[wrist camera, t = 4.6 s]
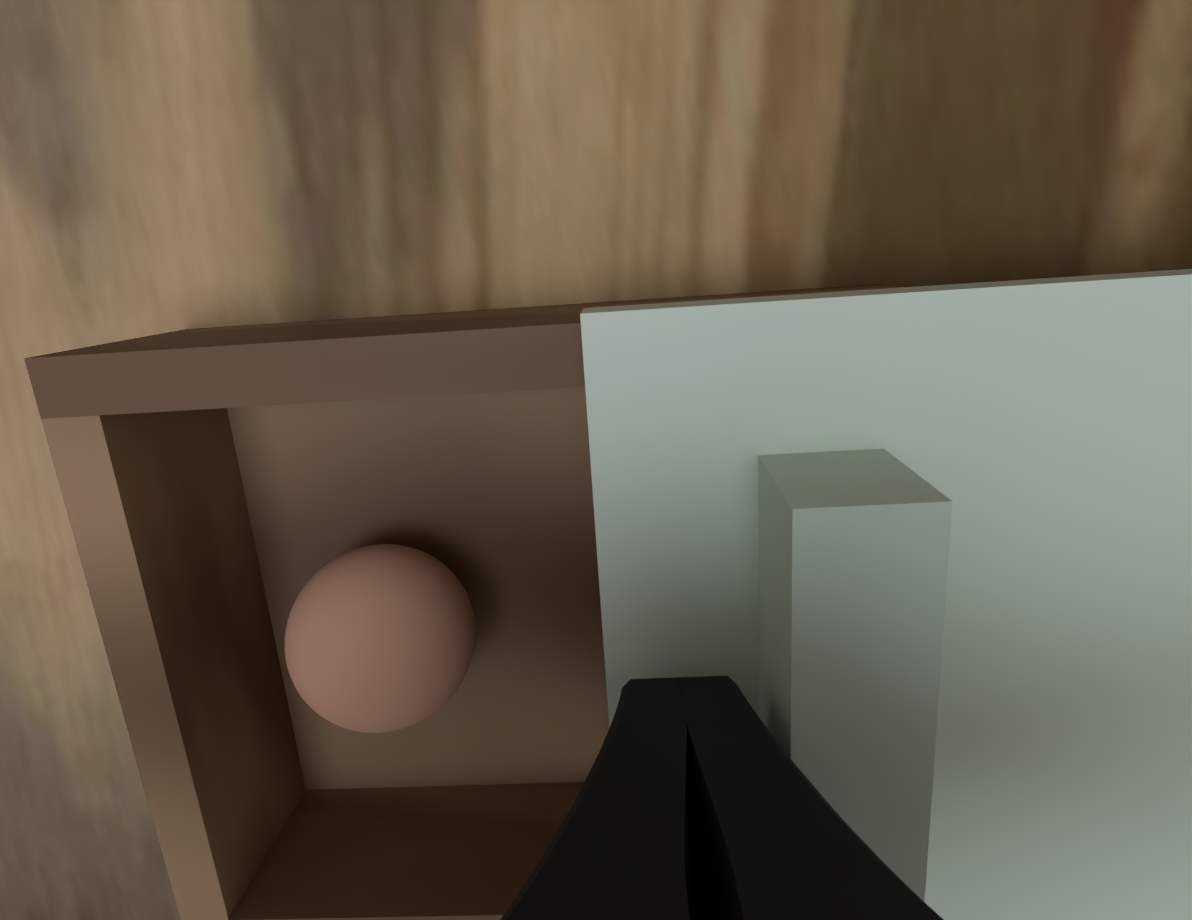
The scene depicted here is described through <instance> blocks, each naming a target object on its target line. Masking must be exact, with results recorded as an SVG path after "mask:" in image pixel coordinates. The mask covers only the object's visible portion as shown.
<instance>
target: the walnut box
mask: <svg viewBox="0 0 1192 920" xmlns="http://www.w3.org/2000/svg"><path fill="white" fill-rule="evenodd" d="M887 288H902V287H895V286H887V285H880V284H877V285H862V286H846V287H831V288H815V289H800V290H785V291H769V292H754V293H739V294H723V295H708V296H692V297H677V298H662V299H646V300H631V301H615V302H600V303H585V304H569V305H554V306H539V307H523V308H508V309H492V310H477V311H462V312H446V313H431V314H416V315H400V316H385V317H369V318H354V319H339V320H323V321H308V322H293V323H277V324H262V325H246V326H231V327H216V328H200V329H185V330H180V331H174V332H168V333H163V334H157V335H152V336H146V337H141V338H135V339H130V340H124V341H118V342H113V343H107V344H102V345H96V346H91V347H85V348H80V349H74V350H68V351H63V352H57V353H52V354H46V355H41V356H35V357H29V358H24V359H25V362H26V366H27V370H28V373H29V377H30V380H31V384H32V388H33V391H34V395H35V398H36V402H37V405H38V409H39V413H40V416H41V420H42V423H43V427H44V431H45V434H46V438H47V441H48V445H49V449H50V452H51V456H52V459H53V463H54V467H55V470H56V474H57V477H58V481H59V484H60V488H61V492H62V495H63V499H64V502H65V506H66V510H67V513H68V517H69V520H70V524H71V528H72V531H73V535H74V538H75V542H76V546H77V549H78V553H79V556H80V560H81V563H82V567H83V571H84V574H85V578H86V581H87V585H88V589H89V592H90V596H91V599H92V603H93V607H94V610H95V614H96V617H97V621H98V625H99V628H100V632H101V635H102V639H103V642H104V646H105V650H106V653H107V657H108V660H109V664H110V668H111V671H112V675H113V678H114V682H115V686H116V689H117V693H118V696H119V700H120V703H121V707H122V711H123V714H124V718H125V721H126V725H127V729H128V732H129V736H130V739H131V743H132V747H133V750H134V754H135V757H136V761H137V765H138V768H139V772H140V775H141V779H142V782H143V786H144V790H145V793H146V797H147V800H148V804H149V808H150V811H151V815H152V818H153V822H154V826H155V829H156V833H157V836H158V840H159V844H160V847H161V851H162V854H163V858H164V861H165V865H166V869H167V872H168V876H169V879H170V883H171V887H172V890H173V894H174V897H175V901H176V905H177V908H178V912H179V915H180V919H181V920H501V918H502V917H503V915H504V914H505V913H506V911H507V910H508V908H509V907H510V905H511V904H512V903H513V901H514V900H515V898H516V897H517V895H518V894H519V892H520V891H521V889H522V888H523V886H524V885H525V883H526V882H527V880H528V879H529V877H530V876H531V874H532V872H533V871H534V869H535V868H536V866H537V865H538V863H539V862H540V860H541V858H542V857H543V855H544V853H545V851H546V850H547V848H548V846H549V845H550V843H551V841H552V840H553V838H554V836H555V834H556V833H557V831H558V829H559V828H560V826H561V824H562V822H563V821H564V819H565V817H566V816H567V814H568V812H569V811H570V809H571V807H572V805H573V803H574V802H575V800H576V798H577V796H578V794H579V792H580V790H581V788H582V786H583V784H584V782H585V780H586V778H587V776H588V774H589V772H590V770H591V768H592V766H593V764H594V762H595V760H596V758H597V756H598V754H599V751H600V749H601V747H602V745H603V742H604V740H605V737H606V735H607V733H608V730H609V715H608V701H607V687H606V673H605V659H604V645H603V630H602V616H601V602H600V588H599V574H598V560H597V546H596V532H595V518H594V504H593V490H592V476H591V462H590V447H589V433H588V419H587V405H586V391H585V377H584V363H583V349H582V335H581V321H580V313H581V312H582V310H583V309H584V308H593V307H609V306H624V305H639V304H655V303H670V302H686V301H701V300H717V299H732V298H748V297H763V296H779V295H794V294H810V293H825V292H840V291H856V290H871V289H887ZM378 544H395V545H402V546H407V547H411V548H415V549H418V550H420V551H423V552H425V553H427V554H429V555H431V556H433V557H434V558H436V559H437V560H439V561H440V562H442V563H443V564H444V565H445V566H446V567H447V568H449V569H450V570H451V571H452V573H453V574H454V575H455V576H456V577H457V578H458V580H459V581H460V583H461V584H462V586H463V587H464V589H465V591H466V593H467V595H468V597H469V600H470V603H471V606H472V609H473V613H474V618H475V630H476V637H475V647H474V651H473V655H472V659H471V663H470V666H469V668H468V671H467V673H466V675H465V677H464V679H463V681H462V682H461V684H460V686H459V687H458V689H457V690H456V691H455V692H454V694H453V695H452V696H451V697H450V698H449V700H448V701H447V702H446V703H445V704H444V705H443V706H441V707H440V708H439V709H438V710H437V711H435V712H434V713H433V714H431V715H430V716H428V717H427V718H425V719H424V720H422V721H420V722H418V723H415V724H413V725H411V726H408V727H406V728H403V729H399V730H395V731H389V732H380V733H365V732H358V731H353V730H349V729H346V728H343V727H340V726H338V725H336V724H334V723H332V722H330V721H328V720H326V719H325V718H323V717H321V716H320V715H319V714H317V713H316V712H315V711H314V710H313V709H312V708H311V707H310V706H309V705H308V704H307V703H306V702H305V701H304V700H303V698H302V697H301V696H300V695H299V693H298V691H297V689H296V688H295V686H294V684H293V681H292V679H291V677H290V674H289V671H288V668H287V664H286V657H285V632H286V626H287V621H288V618H289V615H290V611H291V609H292V607H293V605H294V602H295V600H296V598H297V597H298V595H299V593H300V592H301V590H302V589H303V587H304V586H305V585H306V583H307V582H308V581H309V579H310V578H311V577H312V576H313V575H314V574H315V573H316V572H317V571H318V570H320V569H321V568H322V567H323V566H325V565H326V564H327V563H329V562H330V561H331V560H333V559H335V558H337V557H339V556H340V555H342V554H344V553H346V552H349V551H352V550H354V549H357V548H361V547H365V546H370V545H378Z"/></svg>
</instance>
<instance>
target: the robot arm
mask: <svg viewBox="0 0 1192 920" xmlns="http://www.w3.org/2000/svg"><path fill="white" fill-rule="evenodd" d="M501 920H944V919H942V918H941V917H940V916H939V915H938V914H937V913H936V912H935V911H934V910H933V909H931V908H930V907H929V906H928V905H927V904H926V903H925V902H924V901H923V900H922V899H921V898H920V897H919V896H918V895H917V894H916V893H914V892H913V891H912V890H911V889H910V888H909V887H908V886H907V885H906V884H905V883H904V882H903V881H902V880H901V879H900V878H899V877H898V876H897V875H896V874H895V873H894V872H893V871H892V870H891V869H890V868H889V867H888V866H887V865H886V864H885V863H884V862H883V861H882V860H881V859H880V858H879V857H878V856H877V855H876V854H875V853H874V852H873V851H872V850H871V848H870V847H869V846H868V845H867V844H866V843H865V842H864V841H863V840H862V839H861V838H860V837H859V836H858V835H857V834H856V833H855V832H854V831H853V830H852V829H851V828H850V827H849V825H848V824H847V823H846V822H845V821H844V820H843V819H842V818H841V817H840V815H839V814H838V813H837V812H836V811H835V810H834V809H833V808H832V807H831V806H830V804H829V803H828V802H827V801H826V800H825V799H824V798H823V796H822V795H821V794H820V793H819V792H818V790H817V789H816V788H815V787H814V786H813V785H812V783H811V782H810V781H809V780H808V779H807V777H806V776H805V775H804V774H803V773H802V772H801V770H800V769H799V768H798V767H797V766H796V764H795V763H794V762H793V761H792V760H791V758H790V757H789V756H788V755H787V753H786V752H785V751H784V750H783V748H782V747H781V746H780V745H779V743H778V742H777V741H776V739H775V738H774V737H773V735H772V734H771V733H770V731H769V730H768V729H767V727H766V726H765V725H764V723H763V722H762V721H761V719H760V718H759V717H758V715H757V714H756V712H755V711H754V709H753V708H752V707H751V705H750V704H749V702H748V701H747V699H746V698H745V696H744V695H743V693H742V692H741V690H740V689H739V687H738V685H737V684H736V683H735V682H734V681H733V680H732V679H731V678H730V677H729V676H703V677H676V678H649V679H630V680H629V681H628V682H627V683H626V684H625V685H624V686H623V687H622V689H621V694H620V699H619V702H618V706H617V709H616V712H615V715H614V718H613V720H612V723H611V725H610V728H609V730H608V733H607V735H606V737H605V740H604V742H603V745H602V747H601V749H600V751H599V754H598V756H597V758H596V760H595V762H594V764H593V766H592V768H591V770H590V772H589V774H588V776H587V778H586V780H585V782H584V784H583V786H582V788H581V790H580V792H579V794H578V796H577V798H576V800H575V802H574V803H573V805H572V807H571V809H570V811H569V812H568V814H567V816H566V817H565V819H564V821H563V822H562V824H561V826H560V828H559V829H558V831H557V833H556V834H555V836H554V838H553V840H552V841H551V843H550V845H549V846H548V848H547V850H546V851H545V853H544V855H543V857H542V858H541V860H540V862H539V863H538V865H537V866H536V868H535V869H534V871H533V872H532V874H531V876H530V877H529V879H528V880H527V882H526V883H525V885H524V886H523V888H522V889H521V891H520V892H519V894H518V895H517V897H516V898H515V900H514V901H513V903H512V904H511V905H510V907H509V908H508V910H507V911H506V913H505V914H504V915H503V917H502V918H501Z"/></svg>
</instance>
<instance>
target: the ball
mask: <svg viewBox="0 0 1192 920" xmlns="http://www.w3.org/2000/svg"><path fill="white" fill-rule="evenodd" d="M475 637H476V630H475V618H474V613H473V609H472V606H471V603H470V600H469V597H468V595H467V593H466V591H465V589H464V587H463V586H462V584H461V583H460V581H459V580H458V578H457V577H456V576H455V575H454V574H453V573H452V571H451V570H450V569H449V568H447V567H446V566H445V565H444V564H443V563H442V562H440V561H439V560H437V559H436V558H434V557H433V556H431V555H429V554H427V553H425V552H423V551H420V550H418V549H415V548H411V547H407V546H402V545H395V544H378V545H370V546H365V547H361V548H357V549H354V550H352V551H349V552H346V553H344V554H342V555H340V556H339V557H337V558H335V559H333V560H331V561H330V562H329V563H327V564H326V565H325V566H323V567H322V568H321V569H320V570H318V571H317V572H316V573H315V574H314V575H313V576H312V577H311V578H310V579H309V581H308V582H307V583H306V585H305V586H304V587H303V589H302V590H301V592H300V593H299V595H298V597H297V598H296V600H295V602H294V605H293V607H292V609H291V611H290V615H289V618H288V621H287V626H286V632H285V657H286V664H287V668H288V671H289V674H290V677H291V679H292V681H293V684H294V686H295V688H296V689H297V691H298V693H299V695H300V696H301V697H302V698H303V700H304V701H305V702H306V703H307V704H308V705H309V706H310V707H311V708H312V709H313V710H314V711H315V712H316V713H317V714H319V715H320V716H321V717H323V718H325V719H326V720H328V721H330V722H332V723H334V724H336V725H338V726H340V727H343V728H346V729H349V730H353V731H358V732H365V733H380V732H389V731H395V730H399V729H403V728H406V727H408V726H411V725H413V724H415V723H418V722H420V721H422V720H424V719H425V718H427V717H428V716H430V715H431V714H433V713H434V712H435V711H437V710H438V709H439V708H440V707H441V706H443V705H444V704H445V703H446V702H447V701H448V700H449V698H450V697H451V696H452V695H453V694H454V692H455V691H456V690H457V689H458V687H459V686H460V684H461V682H462V681H463V679H464V677H465V675H466V673H467V671H468V668H469V666H470V663H471V659H472V655H473V651H474V647H475Z"/></svg>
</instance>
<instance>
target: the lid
mask: <svg viewBox="0 0 1192 920" xmlns="http://www.w3.org/2000/svg"><path fill="white" fill-rule="evenodd" d="M580 321H581V335H582V349H583V363H584V377H585V391H586V405H587V419H588V433H589V447H590V462H591V476H592V490H593V504H594V518H595V532H596V546H597V560H598V574H599V588H600V602H601V616H602V630H603V645H604V659H605V673H606V687H607V701H608V715H609V728H610V725H611V723H612V720H613V718H614V715H615V712H616V709H617V706H618V702H619V699H620V694H621V689H622V687H623V686H624V685H625V684H626V683H627V682H628V681H629V680H630V679H649V678H676V677H703V676H729V677H730V678H731V679H732V680H733V681H734V682H735V683H736V684H737V685H738V687H739V689H740V690H741V692H742V693H743V695H744V696H745V698H746V699H747V701H748V702H749V704H750V705H751V707H752V708H753V709H754V711H755V712H756V714H757V715H758V717H759V718H760V719H761V721H762V722H763V723H764V725H765V726H766V727H767V729H768V730H769V731H770V733H771V734H772V735H773V737H774V738H775V739H776V741H777V742H778V743H779V745H780V746H781V747H782V748H783V750H784V751H785V752H786V753H787V755H788V756H789V757H790V758H791V760H792V761H793V762H794V763H795V764H796V766H797V767H798V768H799V769H800V770H801V772H802V773H803V774H804V775H805V776H806V777H807V779H808V780H809V781H810V782H811V783H812V785H813V786H814V787H815V788H816V789H817V790H818V792H819V793H820V794H821V795H822V796H823V798H824V799H825V800H826V801H827V802H828V803H829V804H830V806H831V807H832V808H833V809H834V810H835V811H836V812H837V813H838V814H839V815H840V817H841V818H842V819H843V820H844V821H845V822H846V823H847V824H848V825H849V827H850V828H851V829H852V830H853V831H854V832H855V833H856V834H857V835H858V836H859V837H860V838H861V839H862V840H863V841H864V842H865V843H866V844H867V845H868V846H869V847H870V848H871V850H872V851H873V852H874V853H875V854H876V855H877V856H878V857H879V858H880V859H881V860H882V861H883V862H884V863H885V864H886V865H887V866H888V867H889V868H890V869H891V870H892V871H893V872H894V873H895V874H896V875H897V876H898V877H899V878H900V879H901V880H902V881H903V882H904V883H905V884H906V885H907V886H908V887H909V888H910V889H911V890H912V891H913V892H914V893H916V894H917V895H918V896H919V897H920V898H921V899H922V900H923V901H924V902H925V903H926V904H927V905H928V906H929V907H930V908H931V909H933V910H934V911H935V912H936V913H937V914H938V915H939V916H940V917H941V918H942V919H944V920H1192V269H1181V270H1165V271H1150V272H1134V273H1119V274H1103V275H1088V276H1072V277H1057V278H1041V279H1026V280H1011V281H995V282H980V283H964V284H949V285H933V286H918V287H902V288H887V289H871V290H856V291H840V292H825V293H810V294H794V295H779V296H763V297H748V298H732V299H717V300H701V301H686V302H670V303H655V304H639V305H624V306H609V307H593V308H584V309H583V310H582V312H581V313H580Z"/></svg>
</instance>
